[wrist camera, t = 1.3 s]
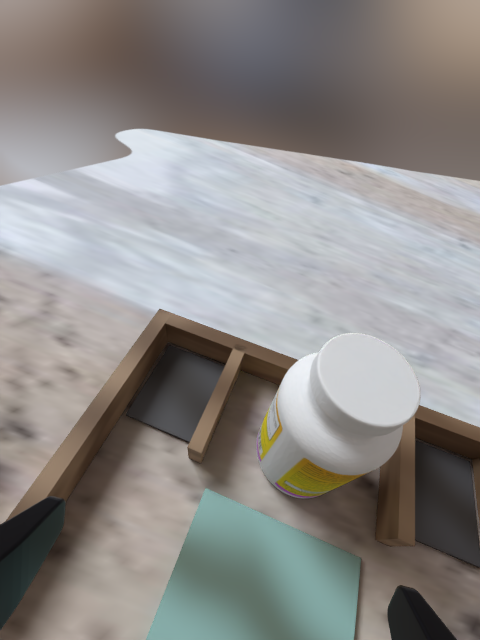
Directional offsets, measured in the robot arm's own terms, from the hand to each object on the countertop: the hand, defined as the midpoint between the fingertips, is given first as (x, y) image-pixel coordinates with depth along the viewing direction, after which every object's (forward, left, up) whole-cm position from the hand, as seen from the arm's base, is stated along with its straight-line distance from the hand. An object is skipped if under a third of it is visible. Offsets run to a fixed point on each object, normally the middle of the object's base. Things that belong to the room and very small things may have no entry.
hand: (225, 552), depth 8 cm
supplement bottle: (0, -9, -15) cm, 17 cm away
